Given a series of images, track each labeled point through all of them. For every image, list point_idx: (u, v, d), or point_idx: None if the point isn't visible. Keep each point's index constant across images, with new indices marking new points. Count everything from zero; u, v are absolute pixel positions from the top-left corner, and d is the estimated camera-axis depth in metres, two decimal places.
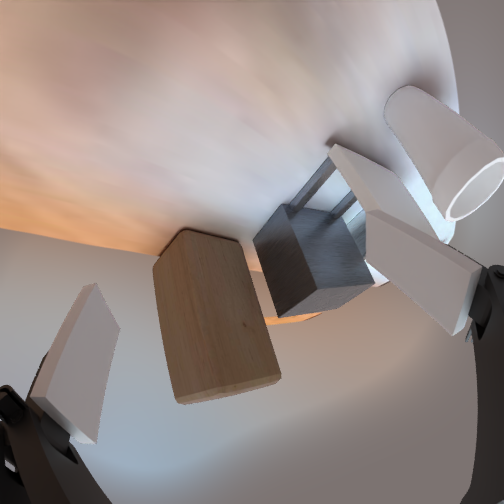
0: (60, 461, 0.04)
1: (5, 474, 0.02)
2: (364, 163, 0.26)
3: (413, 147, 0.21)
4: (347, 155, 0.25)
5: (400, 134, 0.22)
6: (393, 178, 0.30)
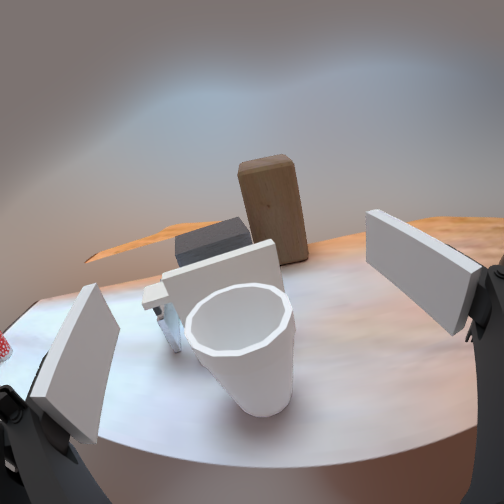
0: (60, 461, 0.04)
1: (5, 474, 0.02)
2: None
3: None
4: None
5: None
6: None
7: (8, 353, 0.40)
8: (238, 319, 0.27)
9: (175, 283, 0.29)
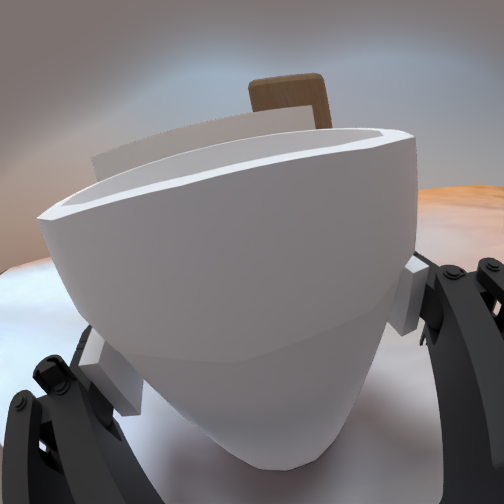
0: (106, 438, 0.05)
1: (37, 457, 0.03)
2: None
3: None
4: None
5: None
6: None
7: None
8: None
9: (114, 165, 0.13)
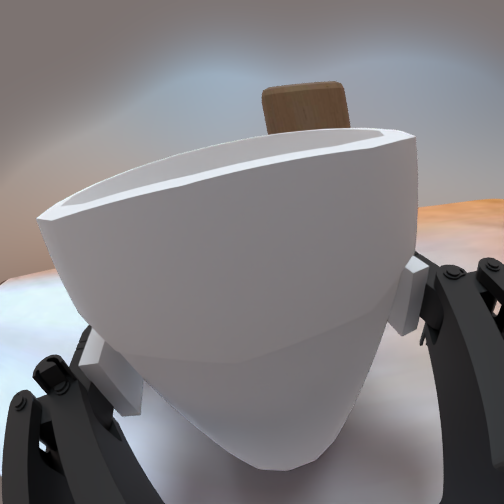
0: (105, 438, 0.05)
1: (37, 457, 0.03)
2: None
3: None
4: None
5: None
6: None
7: None
8: None
9: None
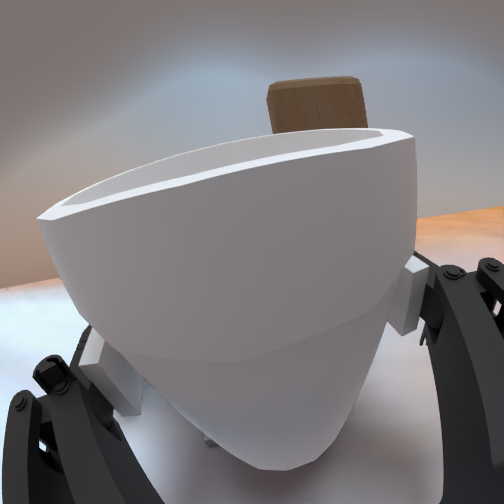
0: (106, 438, 0.05)
1: (37, 457, 0.03)
2: None
3: None
4: None
5: None
6: None
7: None
8: None
9: None
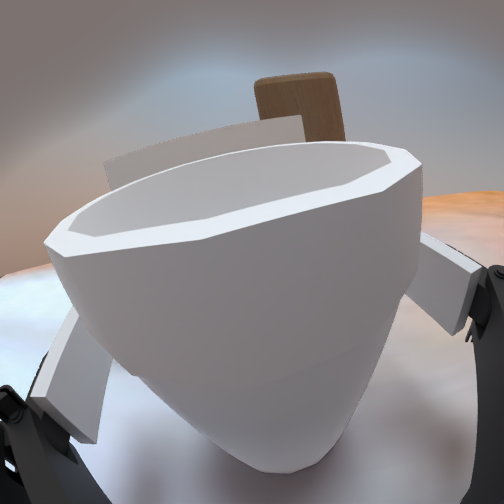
0: (60, 461, 0.04)
1: (5, 474, 0.02)
2: None
3: None
4: None
5: None
6: None
7: None
8: None
9: (124, 169, 0.15)
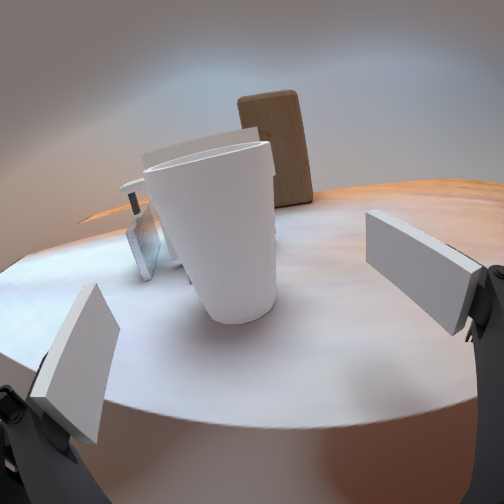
0: (60, 461, 0.04)
1: (5, 474, 0.02)
2: None
3: None
4: None
5: None
6: None
7: None
8: None
9: (154, 159, 0.27)
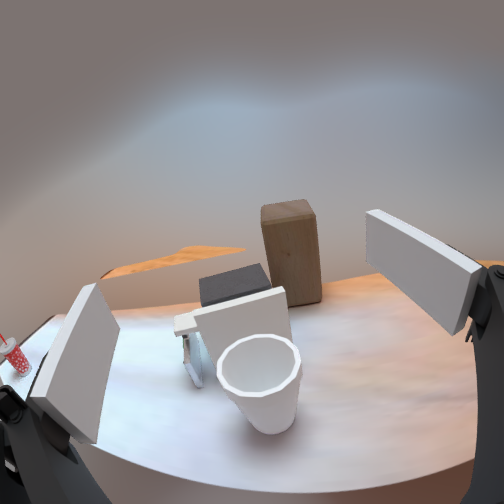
0: (60, 461, 0.04)
1: (5, 474, 0.02)
2: None
3: None
4: None
5: None
6: None
7: (27, 370, 0.44)
8: (256, 359, 0.33)
9: (204, 319, 0.36)
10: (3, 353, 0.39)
